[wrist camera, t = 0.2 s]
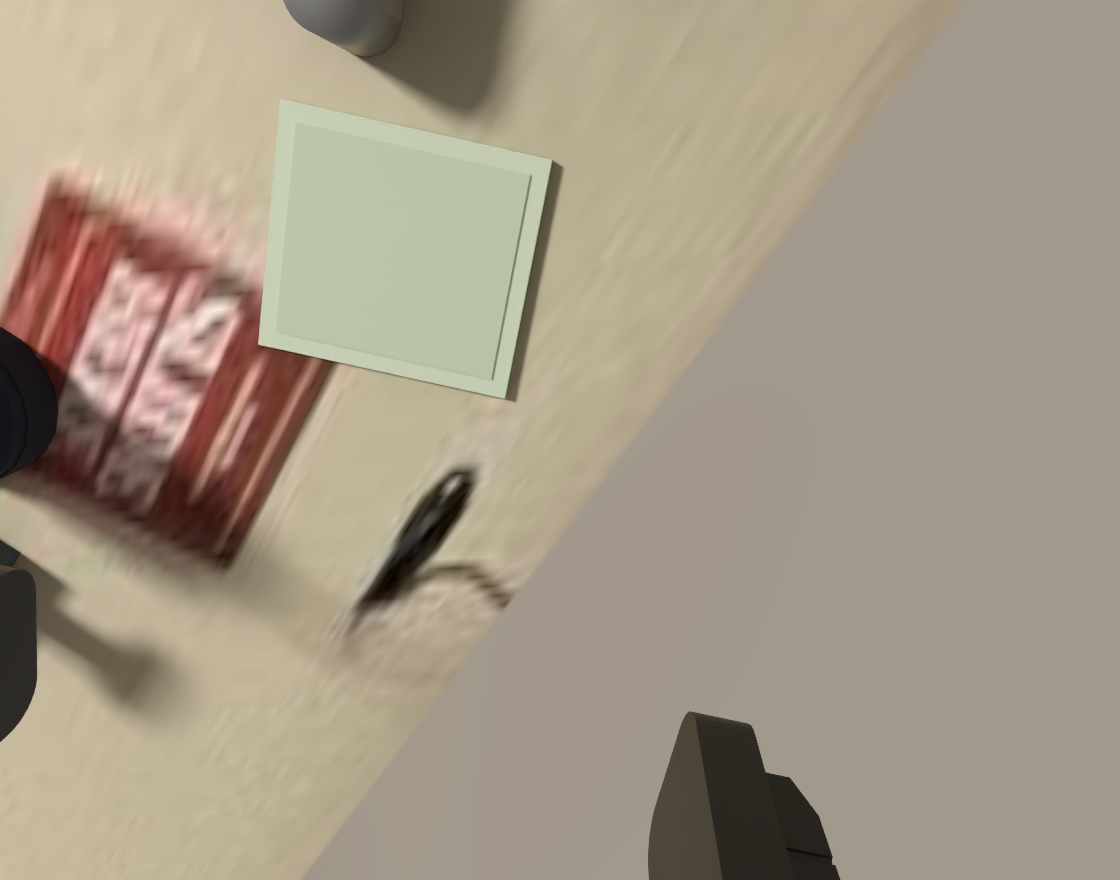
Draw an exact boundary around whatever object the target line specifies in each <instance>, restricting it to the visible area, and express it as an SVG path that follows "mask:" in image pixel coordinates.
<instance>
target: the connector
mask: <svg viewBox="0 0 1120 880" xmlns="http://www.w3.org/2000/svg"><path fill="white" fill-rule="evenodd" d="M284 3H285V5H286V8H287V9H288V11H289V13H290V14H291V16H292V17H293V18H294V19H295V20H296V21H297V23H298V24H300V25H301V26H302V27H303V28H305V29H307V30H308V31H310V32H312V33H314V34H316V35H318V36H320V37H322V38H324V39H325V40H327V41H329V42H331V43H333V44H335V45H337V46H339V47H341V48H343V49H345V50H346V51H348V52H350V53H353V54H355V55H358V56H364V57H370V56H375V55H378V54H381V53H383V52H384V51H386V50H387V49H388V48H389V47H390V46H391V45H392V44H393V43H394V41H395V40H396V38H397V36H398V34H399V31H400V27H401V21H402V14H403V6H404V0H284Z"/></svg>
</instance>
